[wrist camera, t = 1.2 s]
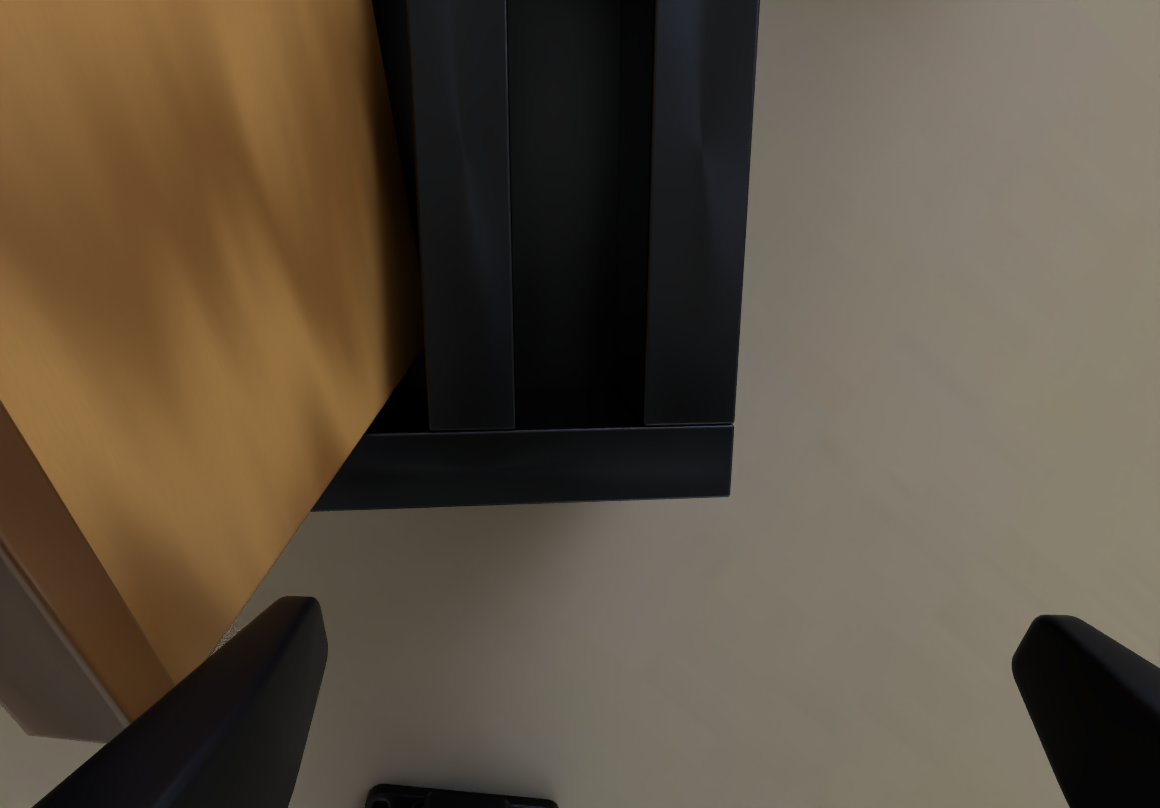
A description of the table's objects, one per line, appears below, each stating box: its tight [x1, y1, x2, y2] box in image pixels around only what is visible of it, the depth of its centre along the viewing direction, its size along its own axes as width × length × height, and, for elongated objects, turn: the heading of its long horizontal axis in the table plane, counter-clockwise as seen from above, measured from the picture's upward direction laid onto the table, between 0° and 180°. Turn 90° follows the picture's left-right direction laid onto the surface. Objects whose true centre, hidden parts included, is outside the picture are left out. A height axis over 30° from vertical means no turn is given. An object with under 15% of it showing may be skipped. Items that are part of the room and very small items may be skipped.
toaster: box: [310, 0, 760, 512], centre depth 14 cm, size 13×11×7 cm
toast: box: [0, 0, 425, 744], centre depth 8 cm, size 9×1×10 cm, turn 4°
